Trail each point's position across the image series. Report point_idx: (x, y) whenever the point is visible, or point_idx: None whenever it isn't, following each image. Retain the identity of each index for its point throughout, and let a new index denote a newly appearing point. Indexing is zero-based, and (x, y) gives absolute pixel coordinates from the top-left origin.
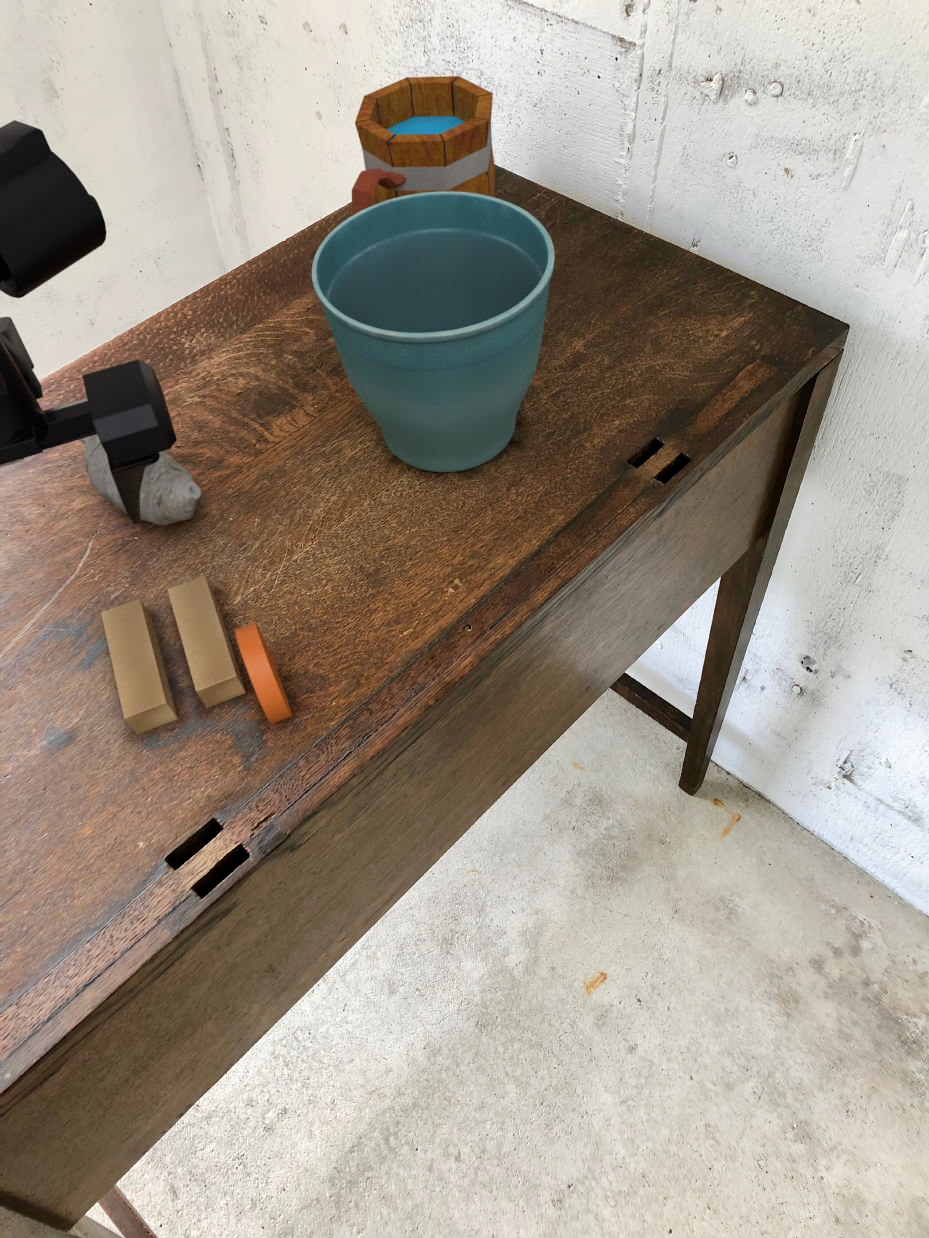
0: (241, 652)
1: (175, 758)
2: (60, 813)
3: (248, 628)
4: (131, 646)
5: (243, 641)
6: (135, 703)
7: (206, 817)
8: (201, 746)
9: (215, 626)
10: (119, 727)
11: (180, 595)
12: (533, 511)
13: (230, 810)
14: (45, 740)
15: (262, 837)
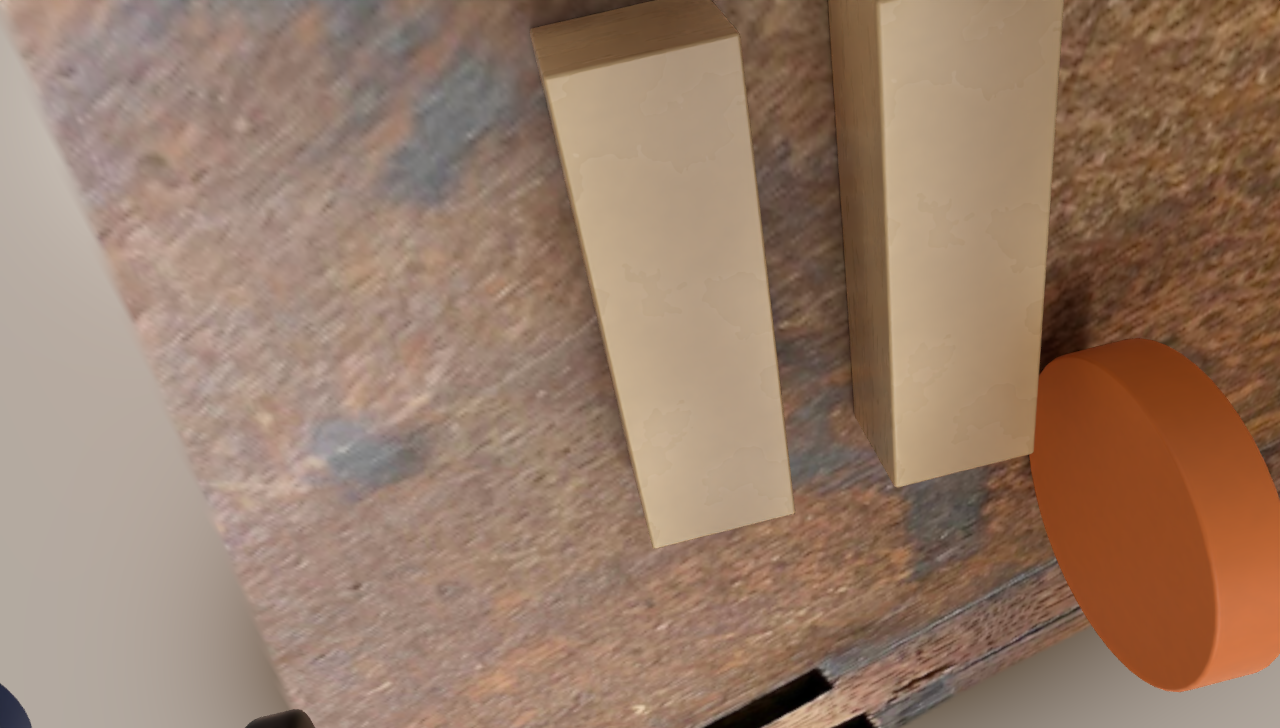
0: (1212, 661)
1: (741, 540)
2: (417, 644)
3: (1261, 550)
4: (688, 290)
5: (1238, 627)
6: (694, 511)
7: (799, 667)
8: (817, 516)
9: (1028, 258)
10: (573, 440)
11: (931, 63)
12: None
13: (857, 656)
14: (318, 455)
15: (911, 704)
